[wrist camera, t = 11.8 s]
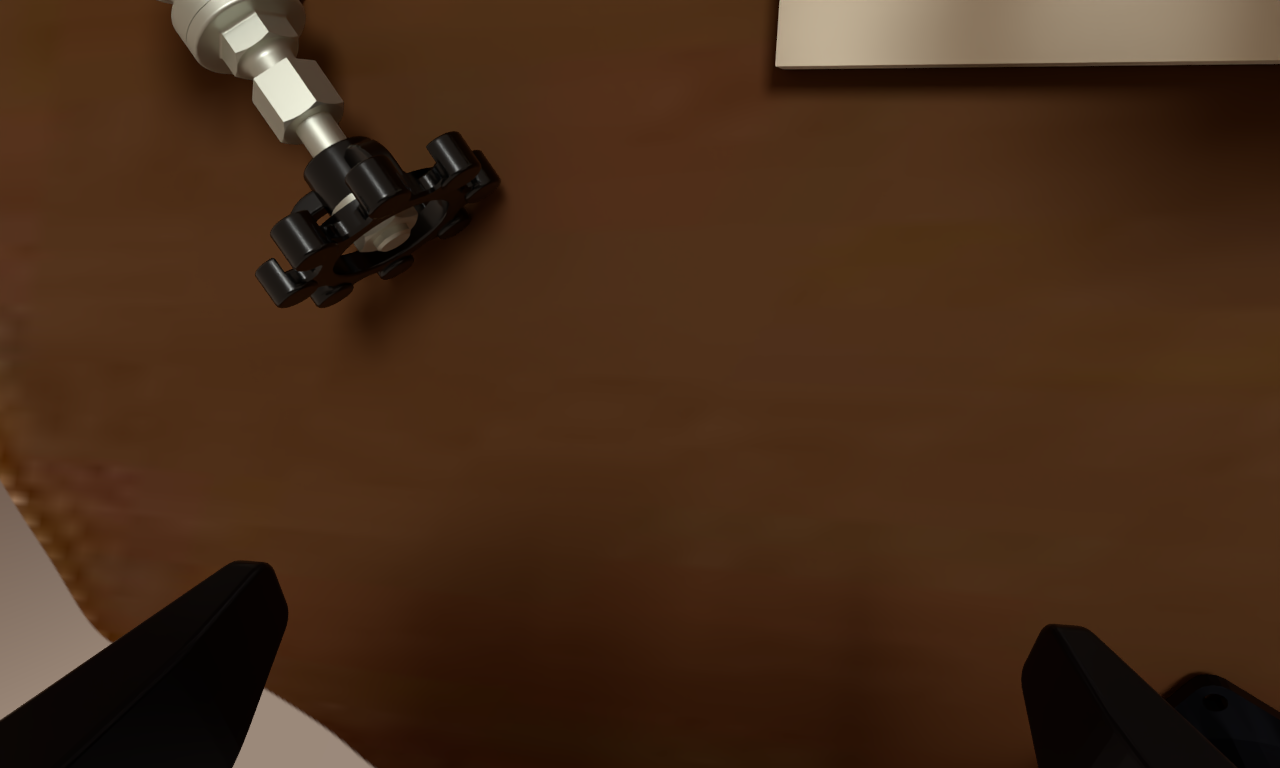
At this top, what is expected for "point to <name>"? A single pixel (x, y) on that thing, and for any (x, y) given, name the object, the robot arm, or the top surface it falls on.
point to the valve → (331, 158)
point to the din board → (1025, 33)
